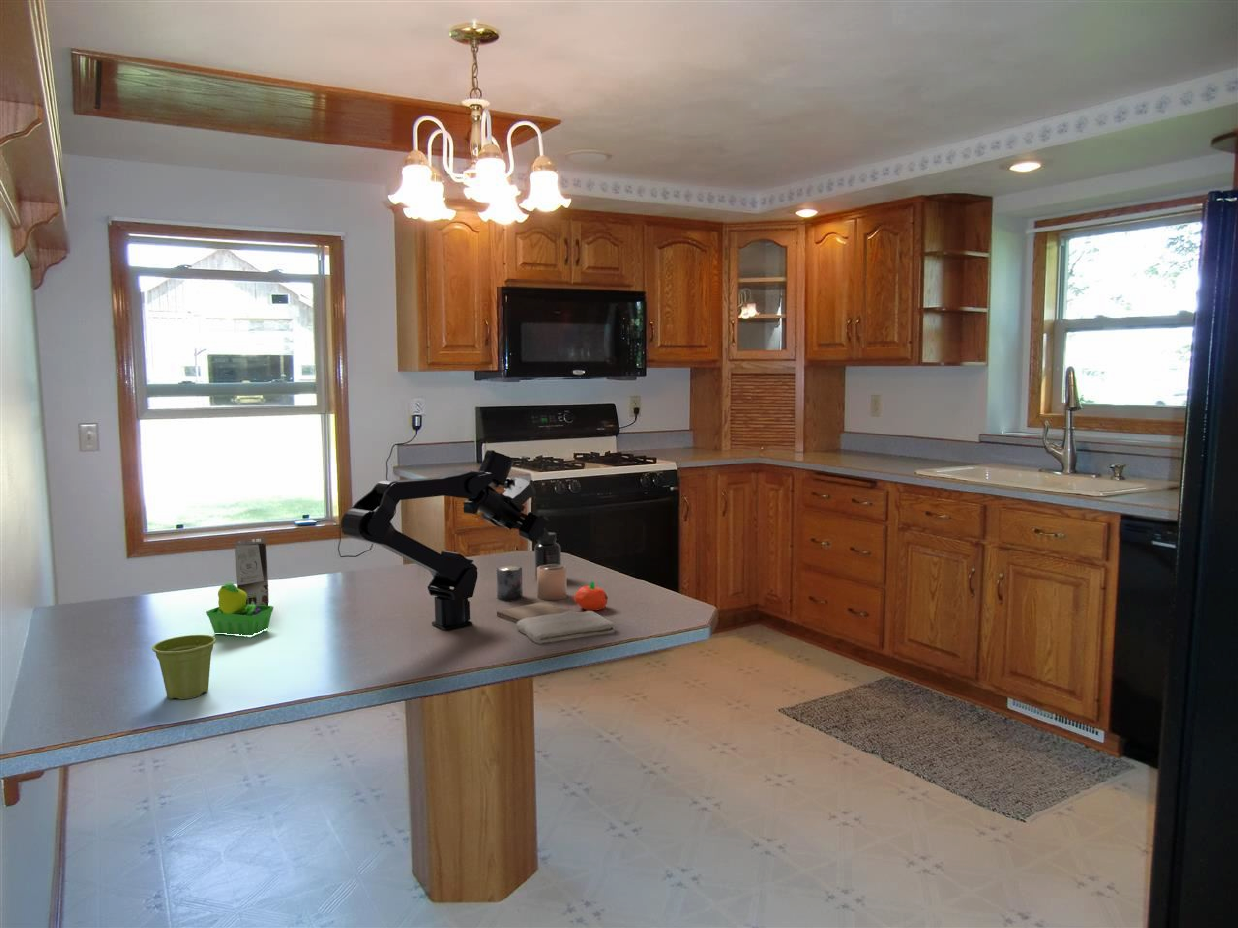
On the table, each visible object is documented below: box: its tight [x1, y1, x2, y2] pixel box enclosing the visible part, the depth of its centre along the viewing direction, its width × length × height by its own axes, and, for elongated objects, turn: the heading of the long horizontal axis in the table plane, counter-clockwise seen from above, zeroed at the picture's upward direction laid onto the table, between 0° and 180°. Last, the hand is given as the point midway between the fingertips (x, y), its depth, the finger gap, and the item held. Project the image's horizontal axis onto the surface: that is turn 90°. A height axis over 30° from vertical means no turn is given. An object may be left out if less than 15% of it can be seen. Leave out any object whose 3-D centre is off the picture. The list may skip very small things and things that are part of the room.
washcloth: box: [515, 610, 615, 645], centre depth 176 cm, size 12×18×3 cm, turn 117°
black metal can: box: [496, 565, 524, 602], centre depth 204 cm, size 6×6×7 cm
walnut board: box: [496, 601, 569, 624], centre depth 187 cm, size 12×12×1 cm
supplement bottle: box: [533, 531, 562, 581], centre depth 223 cm, size 7×7×12 cm
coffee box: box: [234, 537, 269, 606], centre depth 194 cm, size 9×6×16 cm
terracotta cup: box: [536, 564, 568, 601], centre depth 205 cm, size 7×7×7 cm
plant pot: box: [151, 634, 216, 700], centre depth 142 cm, size 9×9×9 cm
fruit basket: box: [205, 582, 275, 635], centre depth 176 cm, size 11×9×11 cm
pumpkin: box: [573, 581, 609, 611], centre depth 193 cm, size 7×8×6 cm
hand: (536, 533), depth 199 cm, fingers open, 9 cm apart
